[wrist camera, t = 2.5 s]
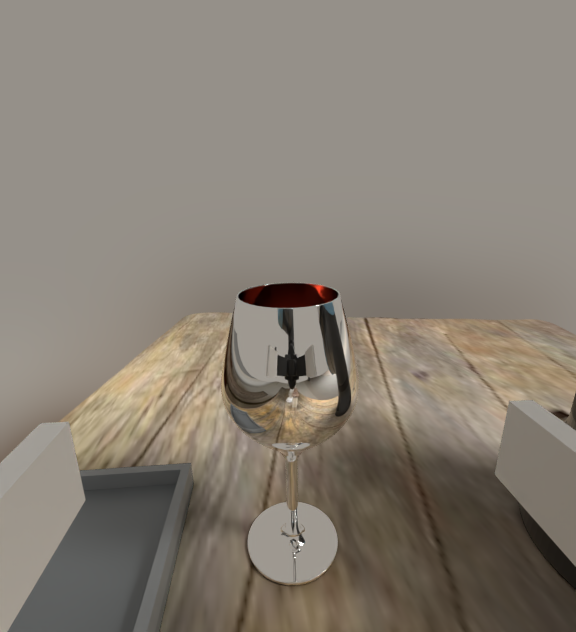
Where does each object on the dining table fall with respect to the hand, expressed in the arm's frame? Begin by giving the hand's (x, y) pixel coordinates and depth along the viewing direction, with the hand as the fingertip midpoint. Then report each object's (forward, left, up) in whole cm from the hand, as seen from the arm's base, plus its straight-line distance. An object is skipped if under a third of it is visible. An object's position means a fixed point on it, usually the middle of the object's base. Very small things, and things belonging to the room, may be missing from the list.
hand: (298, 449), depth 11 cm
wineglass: (-1, -10, -16) cm, 19 cm away
